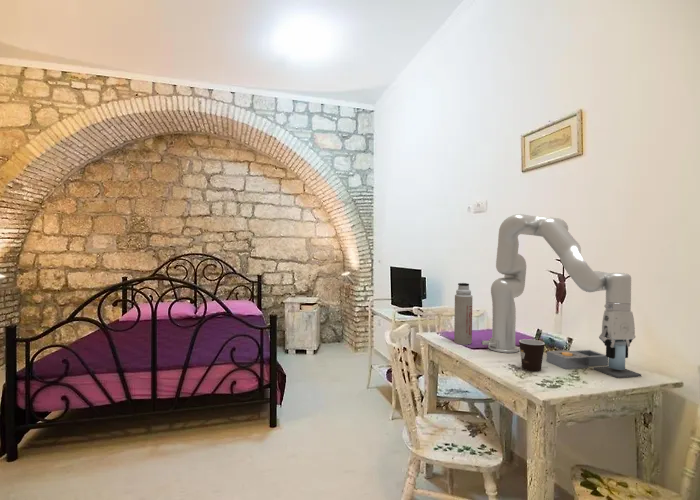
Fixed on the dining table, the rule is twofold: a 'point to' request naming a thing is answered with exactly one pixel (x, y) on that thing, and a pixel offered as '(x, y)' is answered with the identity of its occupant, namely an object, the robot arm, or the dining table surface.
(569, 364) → the block
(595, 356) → the gray square tray
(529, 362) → the coffee mug
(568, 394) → the dining table surface
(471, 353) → the dining table surface
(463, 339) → the thermos bottle
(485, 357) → the dining table surface
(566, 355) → the plunger button
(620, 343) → the cylinder
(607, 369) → the rubber mat
